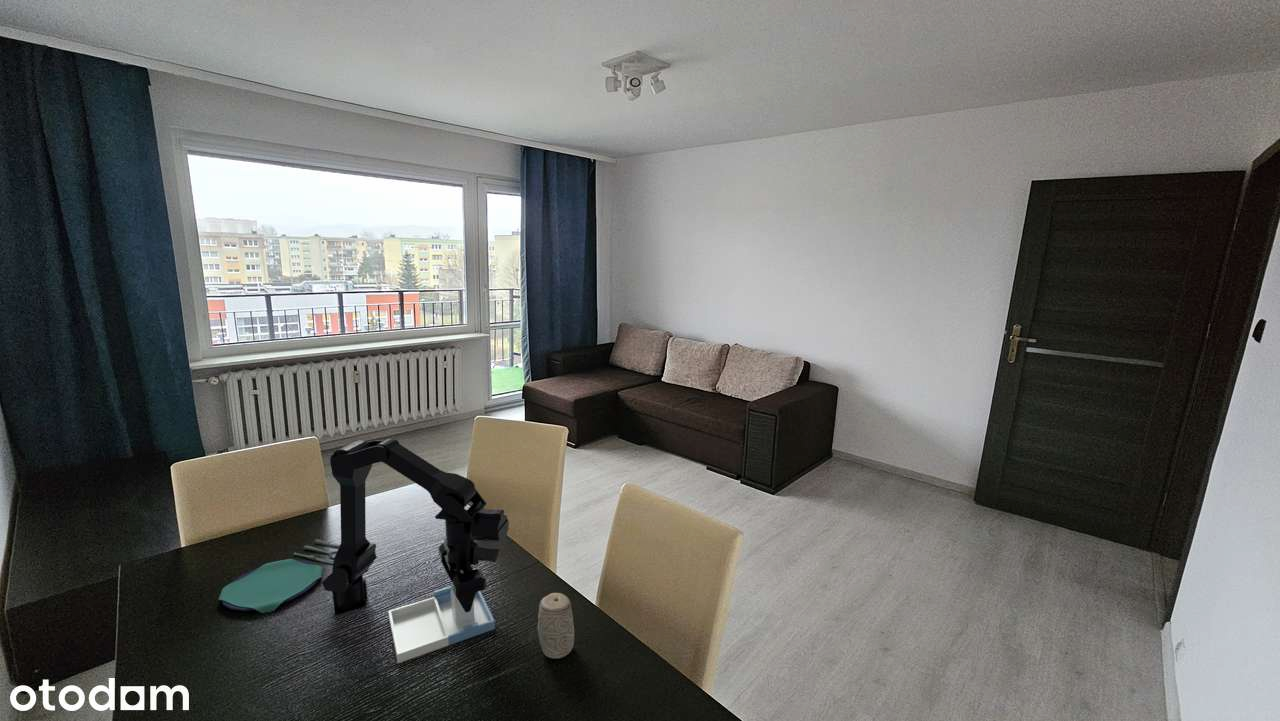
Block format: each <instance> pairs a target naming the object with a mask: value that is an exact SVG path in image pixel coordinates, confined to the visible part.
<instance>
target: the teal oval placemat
mask: <svg viewBox="0 0 1280 721" xmlns="http://www.w3.org/2000/svg"><path fill="white" fill-rule="evenodd" d="M314 544H318V545H322V546H325V545H326V547H331V548H338V549H339V546H340V544H334V543H330V542H327V541H324V540H320V539H314ZM304 549H305V550H308V551H309V550H310V551H313V552H314V551H315V552H320V553H324V554H327V555H329V557H330V558H331V559H333V561H332V560H329V559H324V558H320V557H317V555H313V554H311V555H307V554H301V553H298V552H296V551H295V552H294V553H293V555H292V556H301V557H304V558H307V559H309V560H302V559H293V558H288V559H282V560H276V561H272V562H266V563H264V564H262V565H261V566H260V567H257V568H254V569H252V570H251V571H248V572H246V573H244V574H242V575H240V576H239V577H237V578H235V579H234V580H232V581H231V582H230V583H229V584H227V585H225V586H224V587H223V588H222V589H221V592H220V594H219V597H218V598H217V600H218V601H219V602H220V601H221V603H222V605H223V606H225V607H226V608H228V609H230V610H235V611H244V612H247V611H257V612H259V613H261V614H266V613H265V612H268V611H273V612H274V611H275V610H276V609H277V608H278V607H279V606H280V605H281V604H284V603H287V602H289V601H292V600H294V599H295V598H297V597H299V596H301V595H303V594H305V593H307V592H308V591H309V590H310V589H311V588H313V587H314V586H315V585H316V584H317V582H318V581H319V580H320V579H322V578H323V567H322V566H321V565H318V564H317V563H315V562H312V561H313V560H314V561H317V562H319V563H323V564H329V565H332V566H333V562H334V557H333V555H336V553H337V551H338V550H335V551H331V552H329V551H326V550H323V549H321V548H318V547H313V546H310V545H304V546H303V550H304ZM310 560H312V561H310Z"/></svg>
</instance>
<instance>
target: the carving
mask: <svg viewBox="0 0 1280 721" xmlns="http://www.w3.org/2000/svg"><path fill="white" fill-rule="evenodd" d="M573 615H574V614H573V610H572V603H571V601H570V599H569V597H568V596H567V595H565V594H563V593H560V592H552V593H549V594H548V595H546V596H544V597H543V598H541V600H540V602H539V605H538V615H537V633H538V640H539V644H540V646H541V650H542V652H543V654H544V655H545V657H548V658H549V659H562V658H564V657H566V656H567V655H569V654H570V653H571V652H572V650H573V649H574V648H573V647H574V644H575V643H574V642H575V627H574V626H575V625H574V616H573Z"/></svg>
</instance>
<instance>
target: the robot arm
mask: <svg viewBox="0 0 1280 721" xmlns="http://www.w3.org/2000/svg"><path fill="white" fill-rule="evenodd" d="M378 463H383V464H385V465H387V466H388V467H389V468H391V469H393V470H395V471H396V472H397V473H399V474H400V475H402V476H403V477H405V478H407V479H409V480H410V481H411V482H412V483H415V484H416V485H418V486H420V487H421V488H422V489H424V490H426V491H427V492H428V493H429V495H430V497H431V499H432V501H433V502H434V503H435V504H436V505H437V506H439V508H441V510H440V511H439V512H438V513H437V514H436V515H435V517H434V518H435V519H436V520H444V521H445V522H444V523H445V538H444V539H443V540H444V541H443V542H442V543H441V544H440V546H439V547H438V556H439V558H440V562H441V564H442V566H443V568H444V570H445V571H446V574H447V575H448V578H449V579H450V581H451V583H452V585H451V586H453V591H454V594H455V596H456V597H457V599H458V601H459V602H460V604H461V606H462V607H463V609H464V611H465V612H469V611H471V607H472V604H473V601H474V597H475V594H476V592H478V591H480V592H481V591H484V590H486V588H487V579H486V577H485V575H484V573H483V571H482V570H480V569H478V568H475V569H473V567H472V566H476V565H479V564H480V562H479V561H481V562H492V563H496V562H497V561H498V557H499V556H500V553H501V549H502V547H501V545H500V544H499V543H503V542H504V541H505V539H506V537H507V535H508V532H509V526H510V520H509V519H508V516H507V514H505V510H504V509H491V508H490V509H489V508H485V507H486V506H487V502H486V501H485V500H484V498H483V497H482V496H481V494H480V493H479V492H478V490H477V489H476V485H475V483H474V482H473V481H472V480H471V479H469V478H467V477H464V476H462V475H460V474H458V473H453V472H446V471H443V470H441V469H439V468H438V467H436V466H435V465H433V464H431V463H430V462H429V461H427V460H425V459H424V458H422V457H420V456H419V455H417V454H416V453H414V452H413V451H411V450H410V449H408V448H406V447H405V446H403V445H401V444H400V442H399V441H398V440H397V439H396V438H387V439H376V440H371V441H364V440H362V439H359V440H355V441H353V442H351V443H348V444H346V445H345V446H343V447H341V448H339V449H337V450H335V451H333V453H331V455H330V459H329V464H330V469H331V475H332V477H333V478H334V480H336V482H337V483H338V484H339V493H340V494H339V498H340V500H339V502H340V505H339V506H340V544H339V545H340V546H339V548H338V549H337V550H336V551H337V553H336V554H334V555H335V556H334V557H333V558H334V559H333V561H334V562H333V565H332V569H331V573H330V574H329V575H328V576H326V578H325V579H324V580H323V581H322V582H321V584H322V587H323V588H324V590H325V591H327V592H332V610H333V616H338V615H342V614H344V613H348V612H351V611H355V610H359V609H362V608H364V607H366V606H367V602H366V601H367V600H368V587H367V586H368V585H367V581H366V580H367V579H366V578H364V575H365V574H366V573H368V572H369V568H370V567H371V566H372V565H373V564H374V563H375V560H376V559H377V558H378V557H377V553H376V549H377V544H376V543H371V542H370V541H369V540H368V538H367V537H366V527H367V526H366V521H367V520H366V480H367V478H368V475H369V474H370V471H371V469H372V467H373V465H374V464H378ZM469 503H472V505H470V507H469V508H468V509H466V507H467V506H468V505H469Z"/></svg>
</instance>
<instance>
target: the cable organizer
mask: <svg viewBox="0 0 1280 721" xmlns="http://www.w3.org/2000/svg"><path fill="white" fill-rule="evenodd" d="M452 586H453V585H450V586H447V587H444V588H440V589H437V590H433V597H429V598H427V599H426V598H425V599H423V600H419V601H416V602H414V603H410V604H407V605H403V606H399V607H396V608H393V609H390V610H388V611H387V613H388V621H389V625H390V632H391V635H392V636H391V637H392V641H393V645H394V650H395V651H394V653H395V656H396V663H397V664H400V663H403V662H406V661H408V660H411V659H414V658H417V657H420V656H423V655H425V654H429V653H431V652H435V651H436V650H440V649H443V648H446V647H448V646H450V645H453V644H457V643H460V642H462V641H464V640H468V639H470V638H472V637H473V638H474V637H477V636H479V635H482V634H485V633H487V632H491V631H493V630H496V629H495V628H496V624H495V622H496V621H495V619H494V616H493V614H492V612H491V611H490V608H489V606H488V604H487V602H486V600H485V598H484V596H483V594H482V592H481V591H478V592H476V594H475V597H474V619H472V620H469V621H466V622H463V623H460V624H457V625H456V623H455V621H454V618H453V615H452V603H451V587H452Z"/></svg>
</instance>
